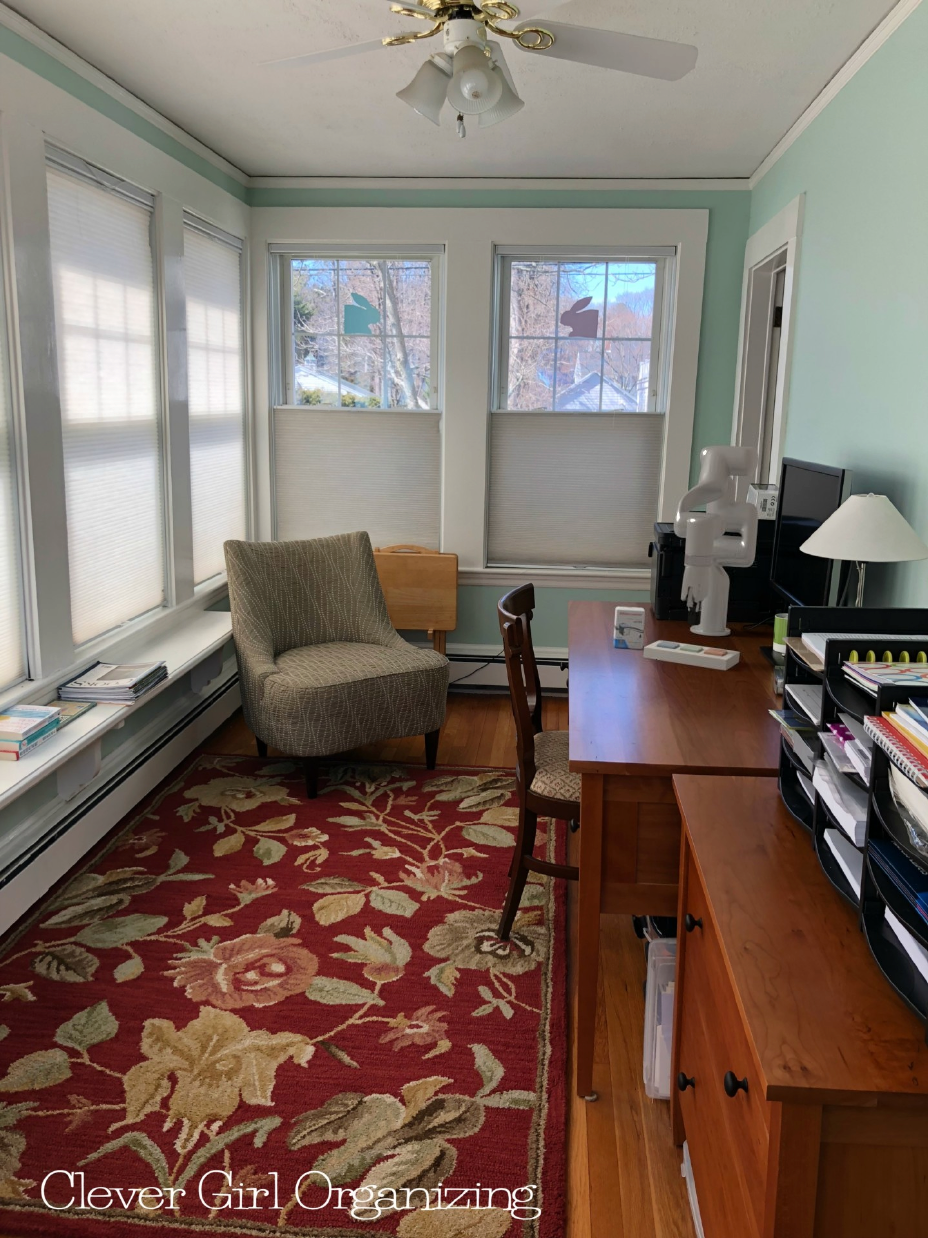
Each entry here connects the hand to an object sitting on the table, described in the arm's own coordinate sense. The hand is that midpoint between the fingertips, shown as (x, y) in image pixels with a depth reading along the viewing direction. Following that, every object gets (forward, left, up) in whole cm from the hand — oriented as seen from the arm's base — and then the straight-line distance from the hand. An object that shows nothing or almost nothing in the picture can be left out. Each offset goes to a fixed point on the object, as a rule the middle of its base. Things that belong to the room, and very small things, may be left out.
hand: (693, 624), depth 275 cm
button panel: (+1, 0, -10) cm, 10 cm away
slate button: (+1, -7, -9) cm, 12 cm away
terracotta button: (+1, +7, -9) cm, 12 cm away
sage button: (+1, 0, -9) cm, 9 cm away
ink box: (-3, -21, -11) cm, 24 cm away
